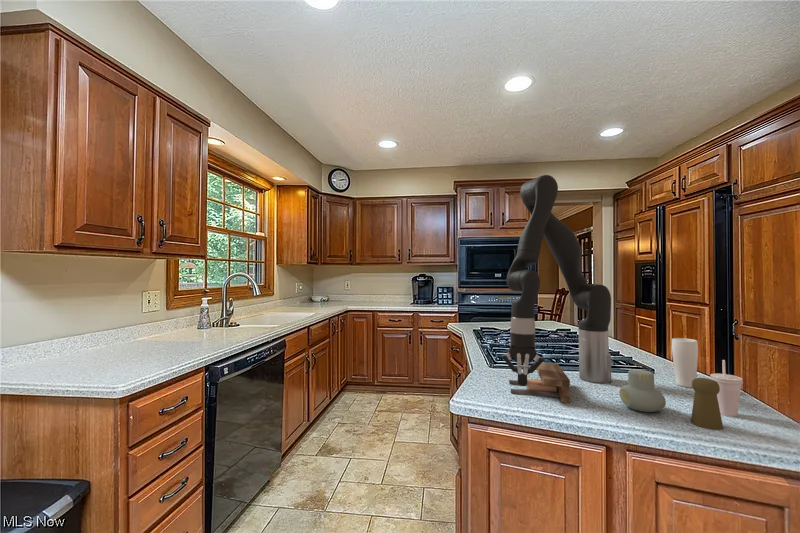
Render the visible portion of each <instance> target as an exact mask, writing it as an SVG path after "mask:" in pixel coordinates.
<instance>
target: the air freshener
mask: <svg viewBox="0 0 800 533" xmlns="http://www.w3.org/2000/svg"><path fill="white" fill-rule="evenodd" d="M627 374H628V375H627V376H628V379H627V380H628V382H627V383H628V384H625V385H624V386H622V387H620V388H619V391H618V392H619V398H620V400H621V402H622V404H624V405H625V406H627V407H628V408H629V409H630V410H634V411H637V412H644V413H654V412H655V413H656V412H659V411H661V410H663V409H664V408H665V407H666V406H667V401H666V398H665V396H664V395H663V393H662V392H661V391H660V390H659V389H657V388H656V387H655V374H654V372H652V371H648V370H645V369H639V368H638V369H629V370H628V371H627Z"/></svg>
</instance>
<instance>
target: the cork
mask: <svg viewBox="0 0 800 533" xmlns="http://www.w3.org/2000/svg"><path fill="white" fill-rule="evenodd" d="M692 389H693V391H694V393H693V394H694V396H693V403H692V409H691V417H690V423H692V425H694V426H697V427H699V428H704V429H707V430H712V431H713V430H715V431H716V430H717V431H719V430H720V431H721V430H723V429H724V425H723V420H722V414H720V408H719V403H718V398H717V394H718V393H719V391H720V387H719V384H718V383H717V382H716V381H714V380H712V379H710V378H705V377H696V378H695V379H694V380H693V381H692Z"/></svg>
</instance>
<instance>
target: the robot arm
mask: <svg viewBox="0 0 800 533" xmlns="http://www.w3.org/2000/svg"><path fill="white" fill-rule="evenodd" d="M519 192H520V198H521V201H522V202H523V204H524V207H525V208H526V209H527V211H528V212H529V214H530V218H529V219H528V221H527V223H526V225H525V227H524V229H523V230H522V231H521V235H520V237H519V241H518V245H517V250H516V251H517V252H516V256H515V257H514V259H513V261H512V263H511V266H510V267H509V269H508V272H507V274H506V284H507V287H508V288H509V290H511V291H513V292H522V293H521V296H520V298H515V299H512V302H511V313H510V314H511V318H510V329H509V330H510V343H509V344H510V346H509V349H508V351H507V352H506V353H504V354H503V355H502V359H503V361H504V362H505V363H506V364H507V366H508V367H509V369H511V371H512V372H513V373H517V380H518V384H520V385H519V387H526V386H527V379H528V375H529V374H533V373H534V372H535V371H537V370H536V369H537V368H538V367H539V365H540V364H541V363H544V359H543V357H542V356H540V355H538V354H537V350H536V323H535V304H536V301H537V298H538V294H539V290H540V287H541V279H540V278H541V277H540V275H539V274H538V272H537V271H535V270H534V269H528V268H529V267H530V266H532V265H535V264H537V263H538V262H539V259H540V253H541V250H542V249H541V248H542V242H543V238H544V239H545V241H546V243H547V245H548V248H549V251H550V253H551V254H552V256H553V257H554V259H555V261H556V263H557V266H558V267H559V270H560V272H561V274H562V276H563V277H564V280H565V283H566V286H567V289H568V291H569V294H570V296H571V298H572V301H573V303H574V304H575V306H576V307H577V308H578V309H581V310H585V311H587V316H586V317H585V318H584V319H580V320H579V321H578V323H577V324H578V367H579V369H578V372H579V373H578V374H579V379H581V380H583V381H585V382H586V381H587V382H590V383H612V355H611V353H610V352H609V350H610V348H609V345H610V343H609V326H610V322H611V319H612V317H611V316H612V309H611V308H612V296H611V292H610V290H609V288H608V287H607V286H606V285H604V284H595V283H588V281H587V280H586V278H585V276H584V274H583V271H582V259H583V258H582V257H583V250H582V247H581V243H580V242H579V240H578V238H577V237H576V234H575V233H574V231H573V230H572V229H571V228H570V227H569V226H568V225H567V224H566V223H564V222H563V221H562V220H561V219H559V218H558V217H557V216H555V215H554V214H553V212H552V210H553V208H554V204H555V202H556V199H557V197H558V192H559V185H558V182H557V179H555V178H554V177H553V176H552V175H550V174H544V175H543V174H542V175H539V176H537V177H535V178H533V179H530V180H528V181H526V182H524V183H523V184H522V185H521V187H520V191H519ZM511 358H512V359H513V361H514V362H516V366H515V365H514V364H513V362H512V361H511ZM533 360H534V362H533V363H532V364H531V365H530V367H529V364H530V363H531V362H532V361H533ZM522 364H523V365H522Z"/></svg>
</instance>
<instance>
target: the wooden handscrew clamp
mask: <svg viewBox="0 0 800 533" xmlns="http://www.w3.org/2000/svg"><path fill="white" fill-rule="evenodd" d="M535 371H536V372H537V374H538V376H539V378H540V380H541V381H542V383H543V385H545V386H556V387H557V392H553V391H539V390H528V389H525V388H524V389H522V388H510V394H515V395H525V396H528V395H529V396H539V395H541V396H542V397H553V396H555V397H557V398H560V400H561V402H562V403H563V402H564V404H565V403H566V404H571V380H570V378H569V377H568V376H567V374H566V373H565V371H564V370H563V369H562V368H561V366H560V365H559V363H557V362H556V363H555V362H542V363H541V364H540V365H539V367H538V368H537V369H536V370H535ZM508 381H509V385H517V386H520V384H518V379H509V380H508ZM541 396H540V397H541Z"/></svg>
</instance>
